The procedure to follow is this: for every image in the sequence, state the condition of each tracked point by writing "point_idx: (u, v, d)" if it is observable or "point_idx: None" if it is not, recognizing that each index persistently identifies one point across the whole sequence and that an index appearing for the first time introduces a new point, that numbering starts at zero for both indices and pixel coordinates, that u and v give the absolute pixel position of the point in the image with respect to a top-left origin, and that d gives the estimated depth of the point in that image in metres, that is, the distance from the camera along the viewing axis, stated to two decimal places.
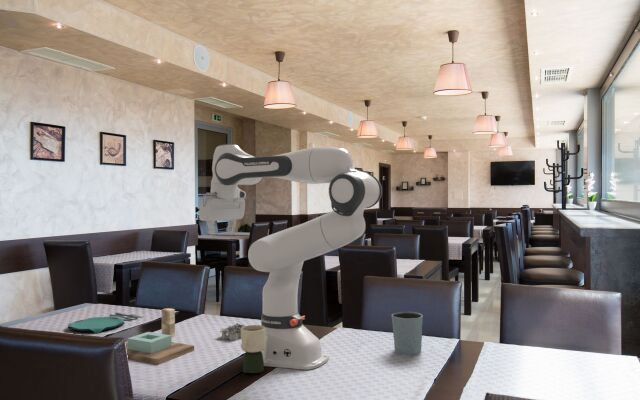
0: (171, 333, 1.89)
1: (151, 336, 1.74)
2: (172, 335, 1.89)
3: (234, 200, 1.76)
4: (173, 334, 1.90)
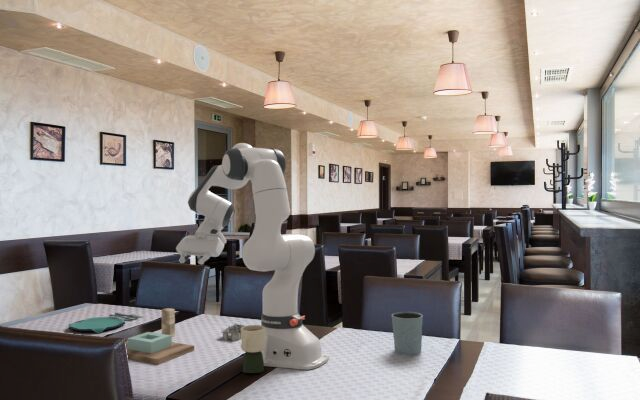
0: (171, 333, 1.89)
1: (151, 336, 1.74)
2: (172, 335, 1.89)
3: (207, 237, 2.05)
4: (173, 334, 1.90)
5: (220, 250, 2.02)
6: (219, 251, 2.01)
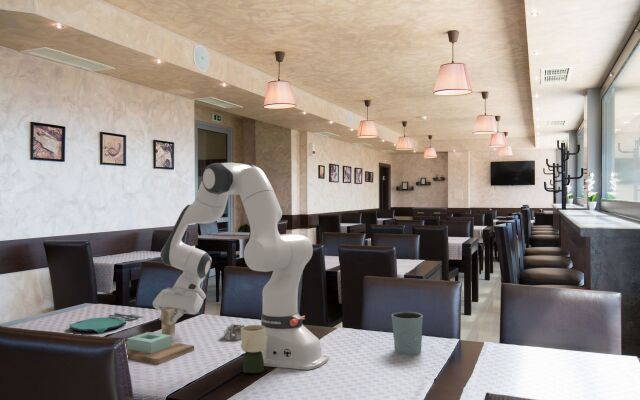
0: (171, 333, 1.89)
1: (151, 336, 1.74)
2: (172, 335, 1.89)
3: (185, 292, 1.94)
4: (173, 334, 1.90)
5: (198, 307, 1.90)
6: (197, 308, 1.90)
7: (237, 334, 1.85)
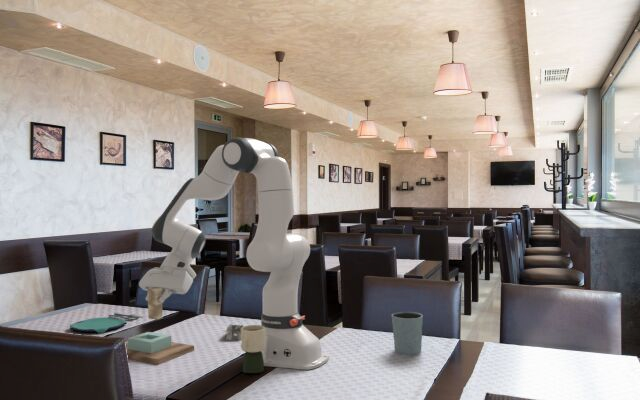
0: (158, 314, 1.75)
1: (151, 336, 1.74)
2: (159, 317, 1.75)
3: None
4: (160, 316, 1.76)
5: (188, 286, 1.76)
6: (186, 288, 1.76)
7: (239, 334, 1.85)
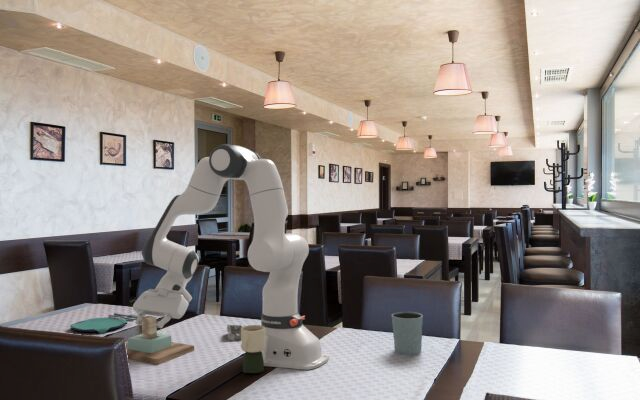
0: None
1: None
2: None
3: None
4: None
5: (183, 310, 1.72)
6: (182, 312, 1.71)
7: None
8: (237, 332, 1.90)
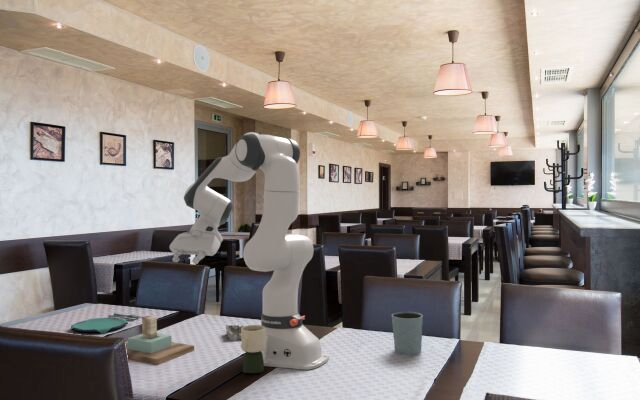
0: None
1: None
2: None
3: None
4: None
5: (216, 248, 1.90)
6: (215, 250, 1.89)
7: None
8: (237, 332, 1.90)
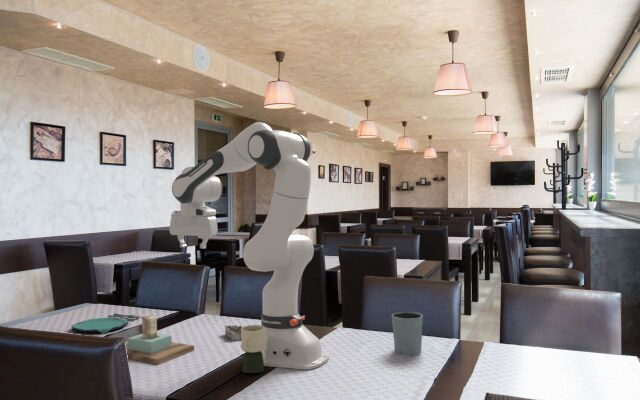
0: None
1: None
2: None
3: (195, 217, 1.90)
4: None
5: (215, 228, 1.90)
6: (215, 230, 1.89)
7: None
8: (237, 332, 1.90)
